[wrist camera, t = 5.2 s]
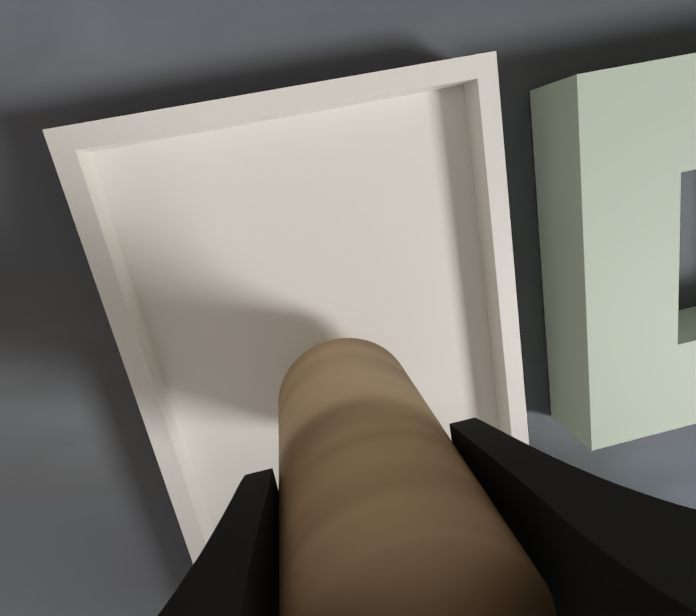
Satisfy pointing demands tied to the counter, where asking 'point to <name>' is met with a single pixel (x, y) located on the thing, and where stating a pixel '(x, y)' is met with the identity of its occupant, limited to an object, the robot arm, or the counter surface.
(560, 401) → the pin holder
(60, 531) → the counter surface
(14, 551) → the counter surface
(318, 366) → the oak pin
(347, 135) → the tray
